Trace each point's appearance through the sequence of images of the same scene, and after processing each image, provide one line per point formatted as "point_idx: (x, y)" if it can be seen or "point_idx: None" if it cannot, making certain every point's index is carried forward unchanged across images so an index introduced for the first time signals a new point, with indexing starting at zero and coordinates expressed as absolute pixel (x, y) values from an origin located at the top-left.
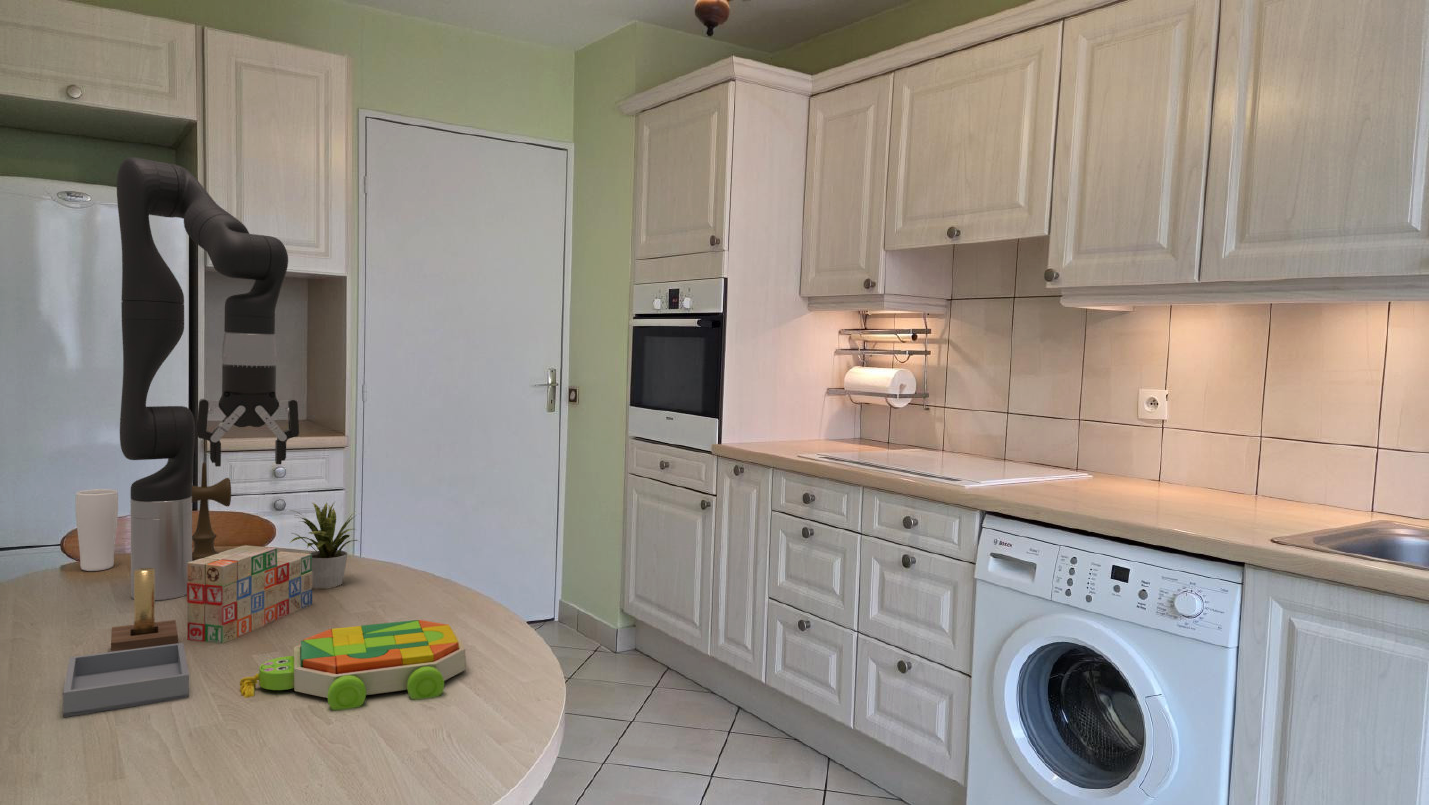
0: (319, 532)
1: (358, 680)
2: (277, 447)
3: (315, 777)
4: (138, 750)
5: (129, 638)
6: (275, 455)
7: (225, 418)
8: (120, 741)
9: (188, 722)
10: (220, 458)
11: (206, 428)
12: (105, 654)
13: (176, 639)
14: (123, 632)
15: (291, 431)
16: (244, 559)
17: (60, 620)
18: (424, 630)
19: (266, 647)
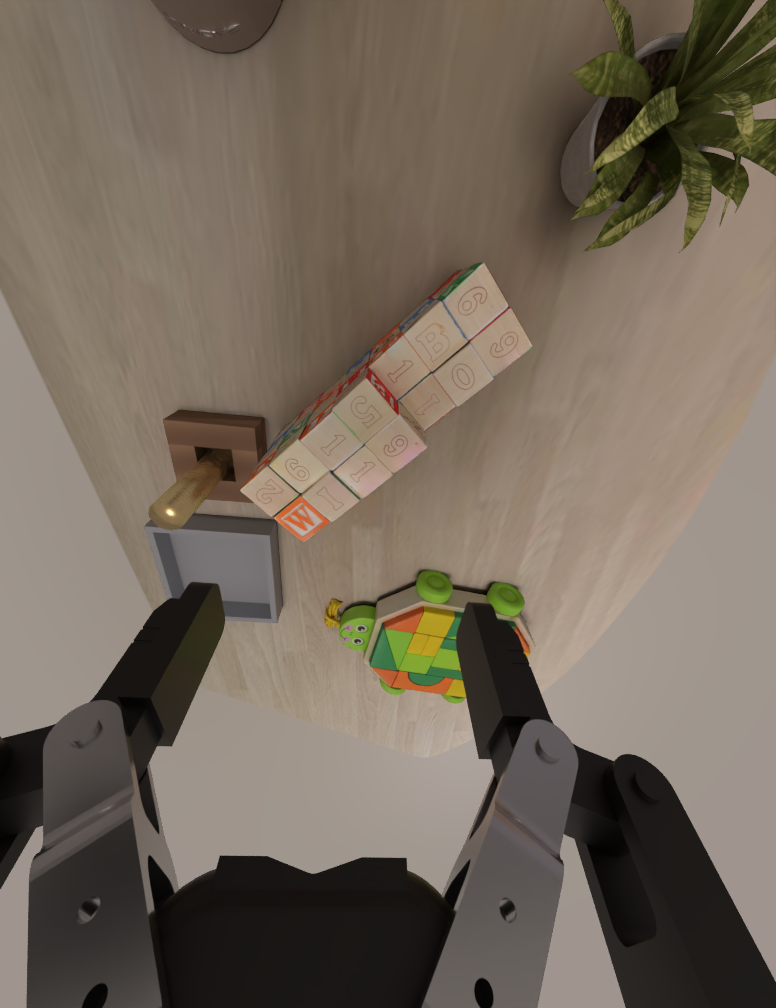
0: (629, 228)
1: (402, 692)
2: (473, 723)
3: (348, 723)
4: (251, 665)
5: None
6: (475, 634)
7: (56, 971)
8: (237, 650)
9: (282, 643)
10: (209, 659)
11: (3, 878)
12: (184, 533)
13: None
14: (186, 456)
15: (580, 845)
16: (345, 511)
17: (19, 137)
18: None
19: (372, 509)
